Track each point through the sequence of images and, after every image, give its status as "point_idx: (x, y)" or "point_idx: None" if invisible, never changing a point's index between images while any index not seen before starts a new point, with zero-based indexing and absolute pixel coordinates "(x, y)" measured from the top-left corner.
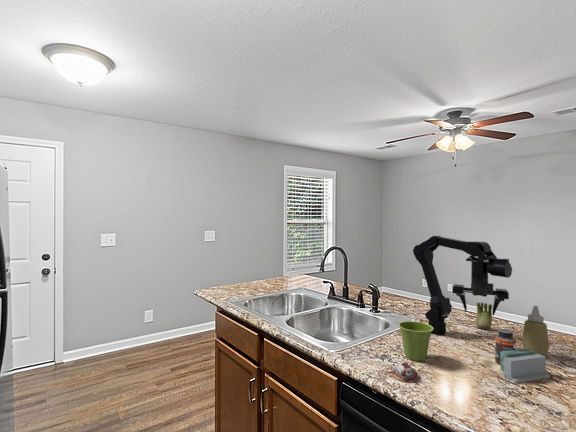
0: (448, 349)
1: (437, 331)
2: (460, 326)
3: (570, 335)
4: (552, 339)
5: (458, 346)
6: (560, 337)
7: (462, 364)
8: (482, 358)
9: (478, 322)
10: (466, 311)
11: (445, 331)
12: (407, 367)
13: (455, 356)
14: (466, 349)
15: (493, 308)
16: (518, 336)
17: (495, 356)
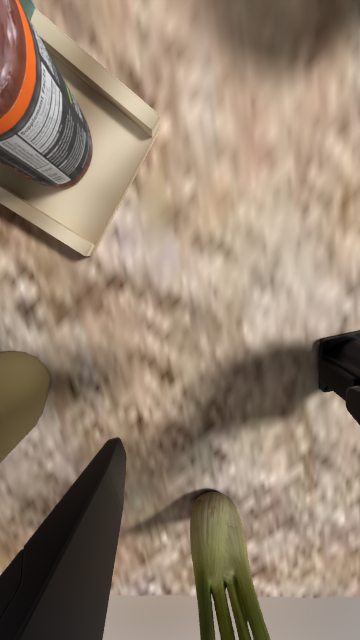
0: (289, 190)
1: (353, 343)
2: (276, 473)
3: None
4: None
5: (257, 262)
6: None
7: (210, 11)
8: (139, 99)
9: (230, 514)
10: (349, 389)
11: (325, 363)
12: None
13: (252, 114)
14: (226, 250)
15: (79, 517)
16: None
17: (77, 104)
